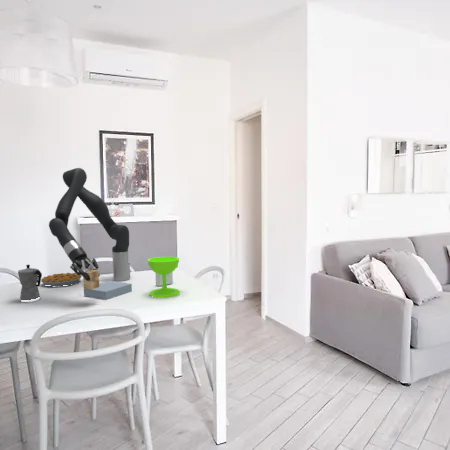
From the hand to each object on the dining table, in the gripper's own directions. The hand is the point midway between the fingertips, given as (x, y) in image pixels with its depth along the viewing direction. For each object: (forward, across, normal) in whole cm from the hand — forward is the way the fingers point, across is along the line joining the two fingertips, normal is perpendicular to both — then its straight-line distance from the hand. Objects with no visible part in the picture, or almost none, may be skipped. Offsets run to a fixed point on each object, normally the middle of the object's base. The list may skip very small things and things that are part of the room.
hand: (93, 278), depth 186 cm
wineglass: (+22, +30, -4) cm, 37 cm away
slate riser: (+3, +17, +15) cm, 23 cm away
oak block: (+2, 0, +5) cm, 5 cm away
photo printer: (+14, +45, +5) cm, 47 cm away
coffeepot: (-16, -10, +33) cm, 38 cm away
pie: (-27, +21, +46) cm, 58 cm away
